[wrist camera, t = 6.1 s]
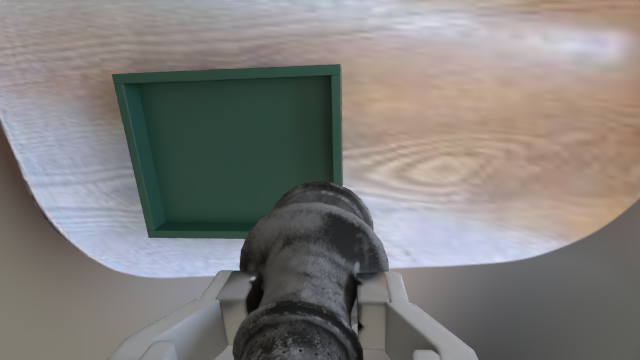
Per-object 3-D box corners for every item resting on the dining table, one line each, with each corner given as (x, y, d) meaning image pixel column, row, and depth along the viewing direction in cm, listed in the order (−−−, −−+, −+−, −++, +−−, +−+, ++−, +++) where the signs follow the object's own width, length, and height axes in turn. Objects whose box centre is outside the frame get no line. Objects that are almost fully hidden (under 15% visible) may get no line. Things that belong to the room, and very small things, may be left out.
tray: (132, 75, 28) (111, 74, 25) (341, 66, 26) (340, 64, 24) (163, 226, 32) (148, 237, 30) (343, 227, 31) (342, 240, 28)
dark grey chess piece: (265, 276, 16) (64, 738, 5) (261, 171, 14) (-74, 508, 3) (374, 284, 16) (447, 817, 4) (385, 178, 14) (559, 604, 2)
